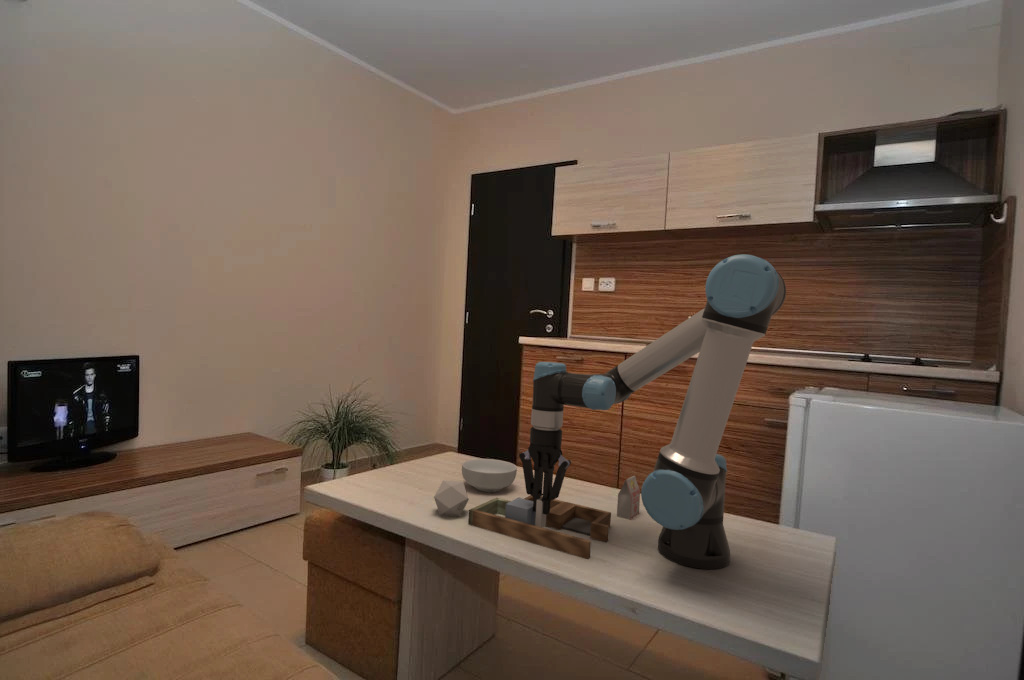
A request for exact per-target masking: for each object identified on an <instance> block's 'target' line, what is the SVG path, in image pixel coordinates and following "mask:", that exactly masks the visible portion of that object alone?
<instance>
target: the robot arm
mask: <svg viewBox="0 0 1024 680" xmlns="http://www.w3.org/2000/svg"><path fill="white" fill-rule="evenodd" d="M704 291H705V297H706V303H705V306H704V308H702V309H701V310H699V311H698V312H696V313H695V314H694V315H692V316H690V317H689V318H687V319H686V320H684V321H682V322H681V323H679V324H678V325H677V326H675V327H674V328H672V329H670V330H669V331H667V332H665V333H664V334H663V335H661V336H659V337H658V338H656V339H655V340H654V341H652V342H651V343H650V344H647V345H646V346H645V347H643V348H641V349H640V350H638V351H637V352H635V353H634V354H633V355H631V356H630V357H628V358H627V359H626V358H625V360H623V361H622V362H621V363H619V364H617V365H616V366H615V367H612V368H611V369H610V370H608V371H607V372H605V373H590V374H589V373H588V374H586V373H585V374H584V373H574V372H568V370H567V365H566V364H565V363H563V362H554V361H553V362H552V361H539V362H537V363H536V364H535V365H534V372H533V379H532V404H531V415H530V417H531V418H530V425H531V428H530V431H529V443H530V444H529V446H528V448H527V450H526V451H523V452H520V453H519V454H518V456H519V459H520V461H521V463H522V464H521V465H522V470H523V477H524V478H523V479H524V484H525V491H526V494H527V495H528V496H530V495H531V496H533V498H534V501H533V511H534V512H536V519H535V526H538V527H542V528H545V527H547V526H546V515H547V514H548V513H549V512H550V501H551V500H554V499H556V500H557V498H559V496H560V493H561V490H562V486H563V483H564V479H565V476H566V473H567V470H568V468H569V467H570V466H571V464H572V462H571V460H570V459H566V457H564V456H563V451H562V439H563V430H562V429H561V428H563V423H564V407H565V406H572V407H580V408H584V409H588V410H589V409H591V410H592V411H597V410H599V411H600V410H601V411H607V410H609V409H611V408H612V406H613V405H617V404H620V403H623V402H625V401H627V400H628V399H629V398H630V396H631V395H632V394H633V393H635V392H636V391H638V390H640V389H641V388H644V386H646V385H647V384H650V383H651V382H653V381H655V380H656V379H658V378H659V377H661V376H662V375H664V374H666V373H668V372H669V371H670V370H672V369H674V368H676V367H678V366H679V365H680V364H682V363H684V362H685V361H687V360H689V359H691V358H692V357H694V356H695V355H697V354H698V356H697V359H696V362H695V365H694V368H693V371H692V375H691V378H690V380H689V384H688V387H687V391H686V394H685V396H684V400H683V403H682V407H681V409H680V412H679V416H678V419H677V422H676V425H675V427H674V432H673V435H672V438H671V440H670V443H669V444H666V445H664V446H662V447H661V448H660V450H659V452H658V456H657V457H656V458H657V459H656V462H655V465H654V468H653V471H652V472H650V473H649V474H648V475H647V476H646V477H645V480H644V481H643V483H642V485H641V490H640V499H641V503H642V505H643V507H644V509H645V511H646V513H647V514H648V515H649V517H650V519H652V520H653V521H654V522H655V523H657V524H658V525H660V526H662V529H661V530H660V533H659V535H658V539H657V551H658V552H659V554H661V556H663V557H664V558H666V559H668V560H669V561H672V562H674V563H677V564H679V565H682V566H686V567H690V568H695V569H705V570H716V569H721V568H725V567H727V566H728V565H729V564H730V562H731V549H730V544H729V542H728V538H727V534H726V530H725V527H724V514H725V499H726V498H725V497H726V495H725V494H726V483H727V482H726V481H727V480H726V479H727V472H728V469H727V460H726V458H725V457H724V456H723V455H722V454H718V450H719V447H720V444H721V440H722V438H723V435H724V432H725V430H726V425H727V423H728V420H729V417H730V414H731V411H732V408H733V405H734V401H735V399H736V396H737V393H738V391H739V387H740V385H741V384H740V383H741V381H742V378H743V374H744V371H745V368H746V365H747V363H748V361H749V356H750V353H751V351H752V347H753V345H754V343H755V342H756V341H758V340H759V339H762V338H764V337H765V336H766V334H767V330H768V328H769V325H770V322H771V320H772V318H773V316H774V315H776V313H778V312H779V310H780V309H781V308H782V306H783V305H784V303H785V300H786V295H787V286H786V282H785V279H784V277H782V275H781V274H780V273H779V272H778V270H776V268H775V267H774V266H773V265H772V264H771V263H770V262H769V261H767V260H766V259H764V258H763V257H758V256H755V255H754V254H753V255H752V254H743V253H742V254H735V255H731V256H729V257H726V258H724V259H722V260H721V261H719V262H718V263H716V265H715V266H714V267H712V269H711V271H710V272H709V274H708V276H707V278H706V282H705V289H704ZM532 462H533V463H532ZM557 463H558V464H557ZM556 464H557V465H558V467H557V469H556V474H555V477H553V476H554V470H555V465H556ZM541 496H543V497H541Z"/></svg>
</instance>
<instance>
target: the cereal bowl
mask: <svg viewBox="0 0 1024 680" xmlns="http://www.w3.org/2000/svg"><path fill="white" fill-rule="evenodd" d="M517 469H518V467H517V465H516V464H514V463H512V462H509V461H505V460H500V459H494V458H474V459H473V458H472V459H468V460H465V461H464V462H463V463H462V464H461V474H462V478H463V480H464V481H465V482H466V484H469V486H472V487H473V488H475V489H476V490H478V491H480V492H486V493H487V492H489V493H493V492H499V491H500V490H502V489H504V488H508V487H509V486H511V485H513V483H514V481H515V480H516V477H517Z"/></svg>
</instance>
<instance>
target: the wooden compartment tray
mask: <svg viewBox="0 0 1024 680" xmlns="http://www.w3.org/2000/svg"><path fill="white" fill-rule="evenodd" d="M541 497H543V495H542V496H541ZM523 499H525V500H529V501H534V498H533V496H531V495H530V494H529V495H528V496H527V497H526V496H525V498H523ZM511 501H512V500H508V499H503V498H501V497H500V498H499V497H495V498H492V499H490V500H488V501H486V502H483V503H482V504H479V505H477V506H475V507H472V508H470V509H469V510H468V519H467V520H468V521H467V525H469V526H472V525H473V527H476V528H480V529H483V530H486V531H490V532H493V533H497V534H500V535H504V536H507V537H509V538H510V537H511V538H514V539H518V540H521V541H524V542H527V543H531V544H535V545H538V546H542V547H545V548H547V549H548V548H549V549H551V550H554V551H555V550H556V551H559V552H562V553H566V554H569V555H572V556H576V557H579V558H583V559H587V560H588V559H590V558H591V545H592V540H589V539H587V538H582V537H578V536H575V535H571V534H567V533H565V532H564V533H563V532H560V531H555V530H561V529H563V530H565V531H566V530H567V531H571V532H573V533H577V534H582V535H585V536H589V538H590V539H593V540H597V541H600V542H605V543H608V541H609V537H610V536H609V534H610V528H611V522H612V512H610V511H607V510H602V509H597V508H594V507H589V506H585V505H581V504H578V503H577V504H576V503H574V502H573V503H572V502H567V501H564V500H560V499H557V498H556V499H554V500H551V501H550V512H549V513H548V514H547V515H546V526H545V527H546V528H545V527H543V528H542V527H538V526H534V525H531V524H527V523H523V522H519V521H516V520H512V519H508V518H505V509H506V503H509V502H511ZM497 514H499V515H497ZM500 515H503V516H500ZM547 527H548V528H551V529H548V528H547ZM553 529H555V530H553Z"/></svg>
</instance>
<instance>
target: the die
mask: <svg viewBox="0 0 1024 680" xmlns="http://www.w3.org/2000/svg"><path fill="white" fill-rule="evenodd" d="M433 498H434V501H435V504H436V507H437V510H438V514H439V516H448V517H449V516H450V517H461V516H462V514H463V513H464V510H465V508H466V506H467V504H468V502H469V496H468V494H467V490H466V486H465V482H464V481H462V480H461V481H458V480H442V481H441V483H440V485H439V487H438V489H437V491H436V492H435V494H434V496H433Z"/></svg>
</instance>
